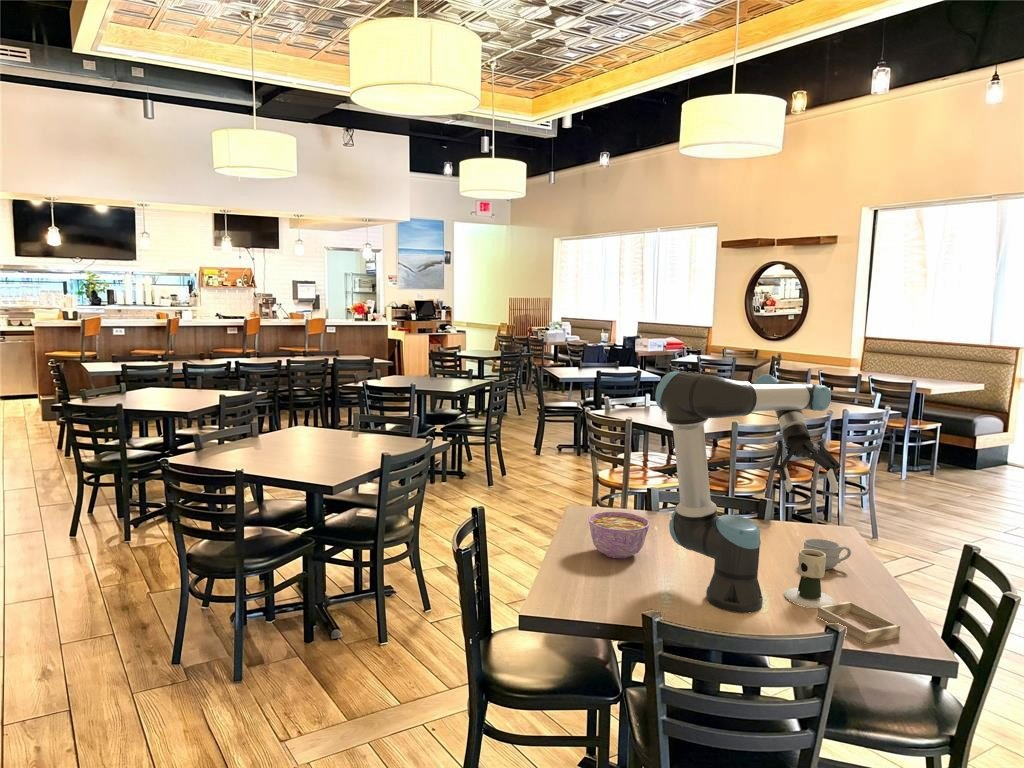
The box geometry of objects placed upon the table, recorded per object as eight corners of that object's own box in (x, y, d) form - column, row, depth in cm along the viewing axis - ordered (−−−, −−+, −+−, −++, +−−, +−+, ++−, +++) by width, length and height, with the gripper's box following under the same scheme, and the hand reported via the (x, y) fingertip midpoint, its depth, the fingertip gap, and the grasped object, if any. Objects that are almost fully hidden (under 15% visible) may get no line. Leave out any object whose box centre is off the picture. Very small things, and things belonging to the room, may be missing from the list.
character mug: (789, 588, 206) (792, 545, 205) (813, 589, 206) (816, 546, 205) (804, 604, 196) (807, 559, 194) (830, 605, 196) (833, 560, 194)
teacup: (800, 568, 225) (802, 544, 224) (803, 558, 234) (805, 534, 233) (848, 577, 218) (850, 552, 217) (850, 566, 228) (852, 542, 227)
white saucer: (807, 611, 193) (807, 609, 193) (774, 592, 205) (774, 590, 205) (844, 605, 197) (844, 603, 197) (809, 587, 209) (809, 585, 209)
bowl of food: (660, 561, 228) (661, 526, 226) (605, 568, 220) (607, 532, 219) (627, 541, 246) (629, 509, 245) (576, 547, 239) (577, 514, 237)
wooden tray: (864, 644, 175) (865, 632, 174) (817, 617, 189) (817, 606, 189) (899, 637, 179) (900, 626, 178) (850, 611, 193) (850, 601, 193)
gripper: (829, 437, 222) (849, 497, 209) (751, 436, 222) (766, 495, 208) (838, 423, 216) (860, 484, 203) (758, 422, 216) (774, 482, 202)
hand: (812, 490), depth 206 cm, fingers open, 13 cm apart
